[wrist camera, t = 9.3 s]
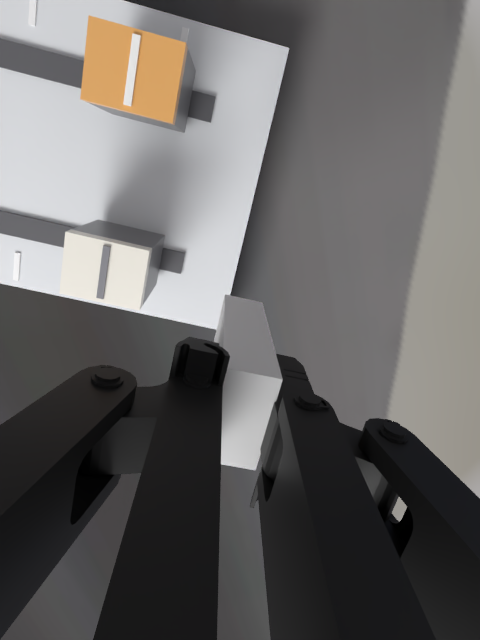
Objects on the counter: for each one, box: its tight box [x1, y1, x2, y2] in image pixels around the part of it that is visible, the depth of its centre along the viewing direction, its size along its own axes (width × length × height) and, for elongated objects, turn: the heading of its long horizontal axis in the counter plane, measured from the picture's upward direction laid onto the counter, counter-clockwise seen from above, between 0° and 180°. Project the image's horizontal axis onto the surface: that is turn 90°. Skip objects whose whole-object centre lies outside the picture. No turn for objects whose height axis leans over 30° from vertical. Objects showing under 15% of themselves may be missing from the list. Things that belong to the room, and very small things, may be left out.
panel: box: [0, 0, 289, 329], centre depth 22 cm, size 15×24×3 cm, turn 77°
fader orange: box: [80, 15, 196, 133], centre depth 18 cm, size 3×4×5 cm
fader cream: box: [59, 220, 165, 311], centre depth 21 cm, size 3×4×5 cm
